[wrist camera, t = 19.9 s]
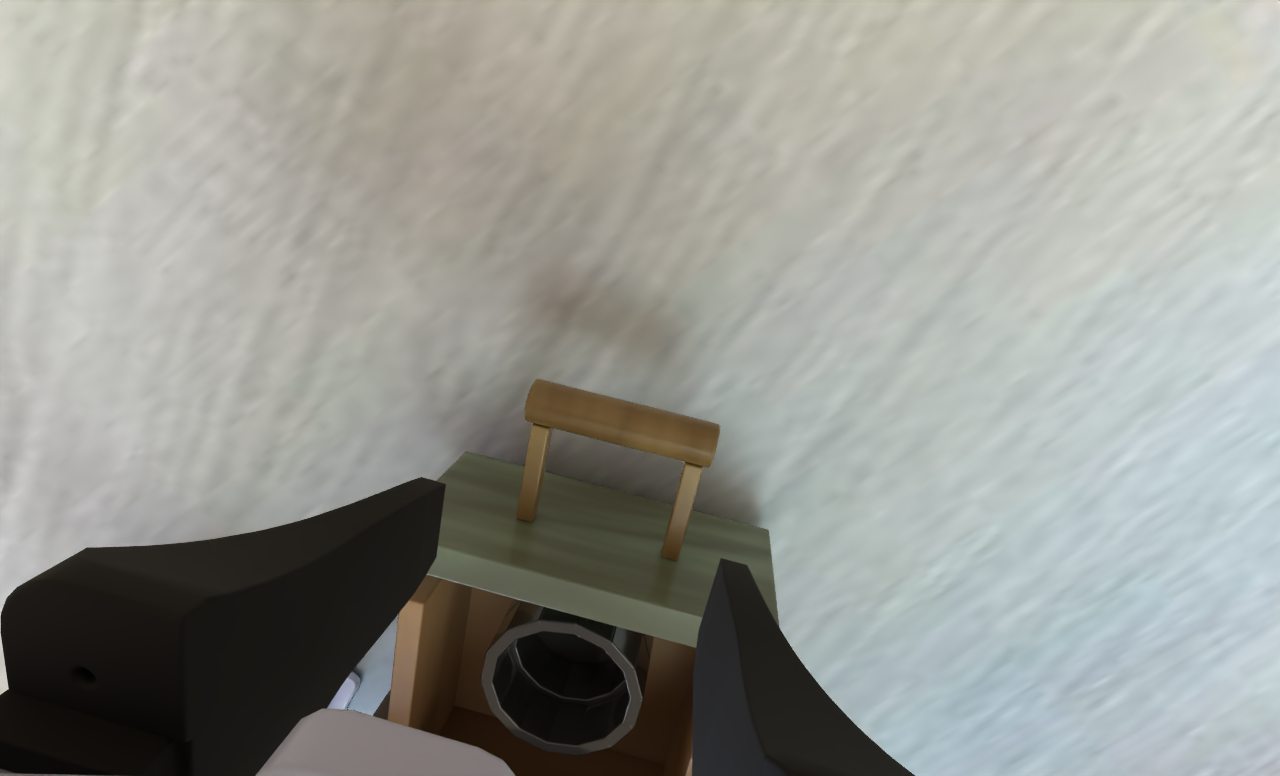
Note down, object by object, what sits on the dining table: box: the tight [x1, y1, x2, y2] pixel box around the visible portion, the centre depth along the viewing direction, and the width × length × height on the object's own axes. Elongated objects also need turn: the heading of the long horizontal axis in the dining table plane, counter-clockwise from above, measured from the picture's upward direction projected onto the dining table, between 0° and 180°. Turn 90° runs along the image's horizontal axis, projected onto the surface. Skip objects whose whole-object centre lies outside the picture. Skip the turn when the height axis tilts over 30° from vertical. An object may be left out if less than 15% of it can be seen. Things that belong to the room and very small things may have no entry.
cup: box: [481, 599, 654, 755], centre depth 23 cm, size 6×6×4 cm
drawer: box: [388, 379, 779, 776], centre depth 23 cm, size 17×12×6 cm
